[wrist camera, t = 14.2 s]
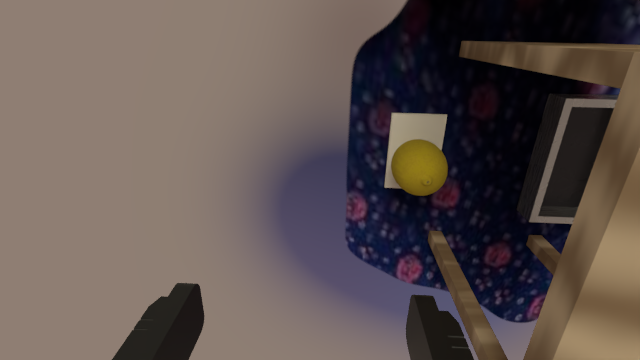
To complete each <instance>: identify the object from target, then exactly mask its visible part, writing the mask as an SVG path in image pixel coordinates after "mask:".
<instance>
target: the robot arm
mask: <svg viewBox="0 0 640 360" xmlns="http://www.w3.org/2000/svg"><path fill="white" fill-rule="evenodd" d="M203 323H204V311H203V305H202V297H201V291H200V286H199V285H198V284H187V283H177V284H176V285H175V287H174V288H173V290H172V291H171V293H170V295H169V296H168V297H160V298H159V299H158V300H157V301H155V302H154V303H153V304H151V305H150V306H149V307H148V309H147V310H146V311H145V313H144V314H143V316H142V317H141V320H140V321H139V322H138V323H137V324H136V326H135V328H134V330H132V332H131V333H130V335H129V336H128V337H127V339H126V340H125V342H124V343H123V345H122V346H121V348H120V349H119V350H118V352H117V353H116V355H115V356H114V358H113V359H112V360H189V357H190V355H191V353H192V351H193V349H194V346H195V344H196V342H197V340H198V338H199V336H200V333H201V331H202V327H203ZM406 339H407V345H408V349H409V354H410V358H411V360H474V359H473V356H472V354H471V351H470V349H469V348H468V344H467V342H466V339H465V338H464V334H463V332H462V330H461V327H460V325H459V323H458V322H457V320H456V319H454V317H453V316H452V315H451V314H450V313H449V312H448V311H439V310H438V308H437V305H436V302H435V299H434V297H433V296H426V295H412V296H411V299H410V305H409V312H408V318H407V324H406Z"/></svg>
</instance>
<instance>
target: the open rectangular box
mask: <svg viewBox="0 0 640 360" xmlns="http://www.w3.org/2000/svg"><path fill="white" fill-rule="evenodd" d="M618 96H619V95H590V94H550V93H549V95H548V98H547V102H546V105H545V109H544V113H543V116H542V120H541V123H540V127H539V130H538V134H537V138H536V141H535V145H534V148H533V152H532V155H531V159H530V163H529V166H528V170H527V173H526V177H525V180H524V184H523V188H522V191H521V195H520V198H519V202H518V205H517V209H516V210H517V211H518V212H519V213H520V214H521V215H522V216H523V217H524V218H525V219H526V220H527V221H528V222H538V223H563V224H572V223H573V221H574V218H575V215H576V212H577V210H578V207H579V204H580V201H581V199H582V196H583V193H584V190H585V187H586V185H587V182H588V179H589V176H590V174H591V171H592V168H593V165H594V163H595V160H596V157H597V154H598V151H599V149H600V146H601V143H602V140H603V138H604V135H605V132H606V129H607V127H608V124H609V121H610V118H611V115H612V113H613V110H614V107H615V104H616V102H617V99H618Z"/></svg>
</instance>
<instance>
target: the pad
mask: <svg viewBox="0 0 640 360" xmlns="http://www.w3.org/2000/svg"><path fill="white" fill-rule="evenodd" d="M446 120H447V114H422V113H392V114H391V124H390V134H389V144H388V154H387V164H386V173H385V183H384V187H385V188H401V187H400V186H399V185H398V184H397V183H396V181H395V179H394V177H393V175H392V170H391V162H392V158H393V155H394V153H395V151H396V150H397V148H398V147H400V146H401V145H402V144H403V143H405V142H407V141H410V140H414V139H422V140H426V141H429V142H431V143H433V144H435V145H436V146H437V147H438V148H439V149H440V150H442V144H443V138H444V132H445V126H446Z"/></svg>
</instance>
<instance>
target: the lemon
mask: <svg viewBox="0 0 640 360" xmlns="http://www.w3.org/2000/svg"><path fill="white" fill-rule="evenodd" d="M391 170H392V175H393V177H394V179H395V181H396V183H397V184H398V185H399V186H400V187H401V188H402V189H403V190H405V191H406V192H408V193H410V194H413V195H418V196H424V195H429V194H432V193H434V192H436V191H437V190H438V189H440V188H441V187H442V185H443V184H444V182H445V180H446V177H447V172H448V165H447V161H446V158H445V156H444V154H443V153H442V151H441V150H440V149H439V148H438V147H437V146H436V145H435V144H433V143H431V142H429V141H426V140H422V139H414V140H410V141H407V142H405V143H403V144H402V145H401V146H400V147H398V148H397V150H396V151H395V153H394V155H393V158H392V162H391Z"/></svg>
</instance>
